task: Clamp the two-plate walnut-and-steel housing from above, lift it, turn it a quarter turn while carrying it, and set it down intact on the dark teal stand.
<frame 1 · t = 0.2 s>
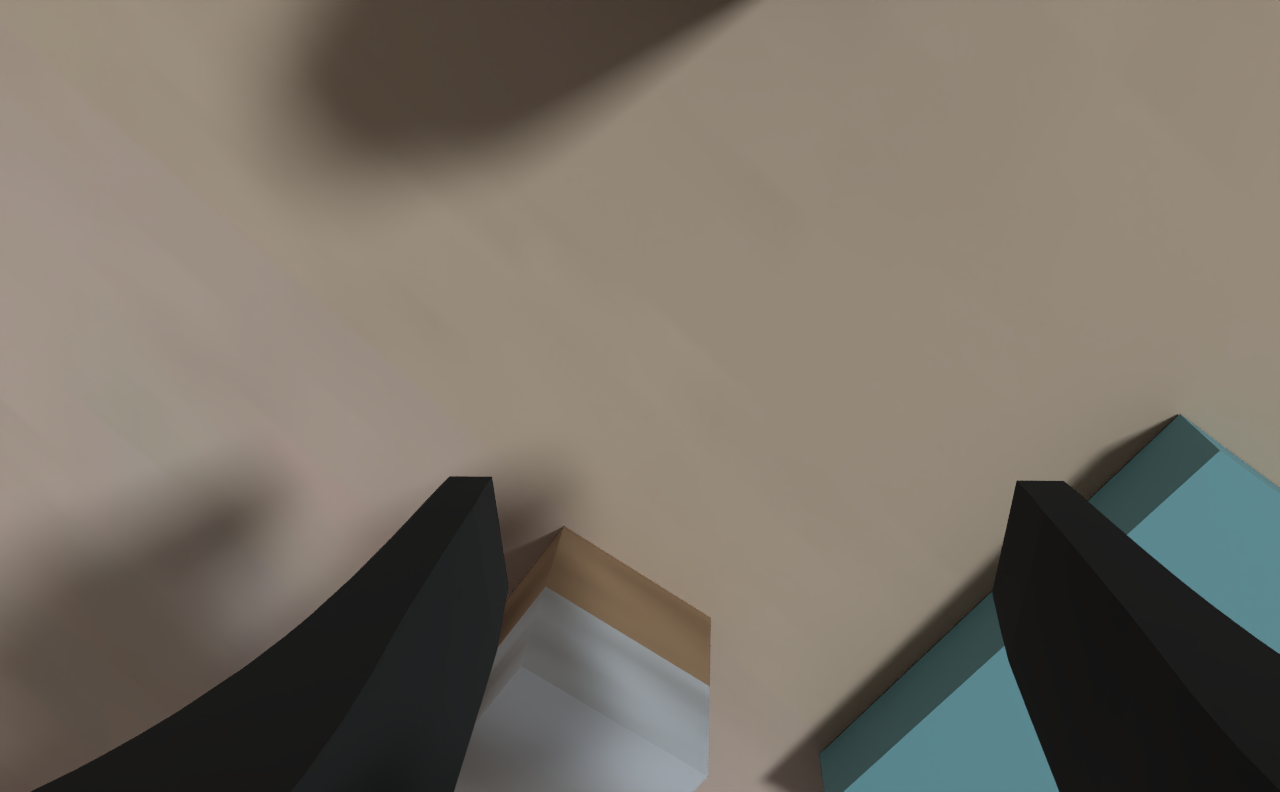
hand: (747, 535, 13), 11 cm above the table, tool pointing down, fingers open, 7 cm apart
teal stand: (1168, 726, 26), on the table
housing: (563, 660, 27), on the table
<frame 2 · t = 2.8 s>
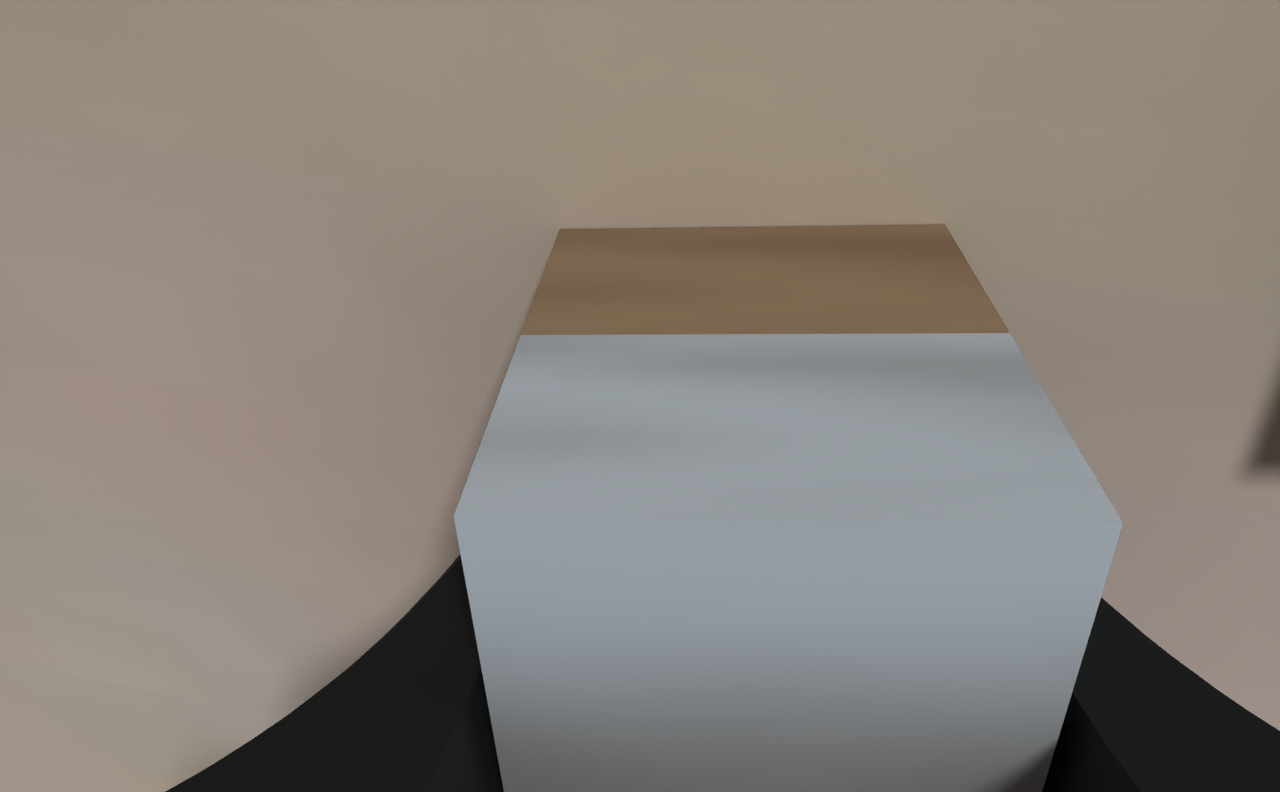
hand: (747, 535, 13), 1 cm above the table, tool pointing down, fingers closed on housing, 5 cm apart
housing: (743, 474, 14), on the table, touching gripper
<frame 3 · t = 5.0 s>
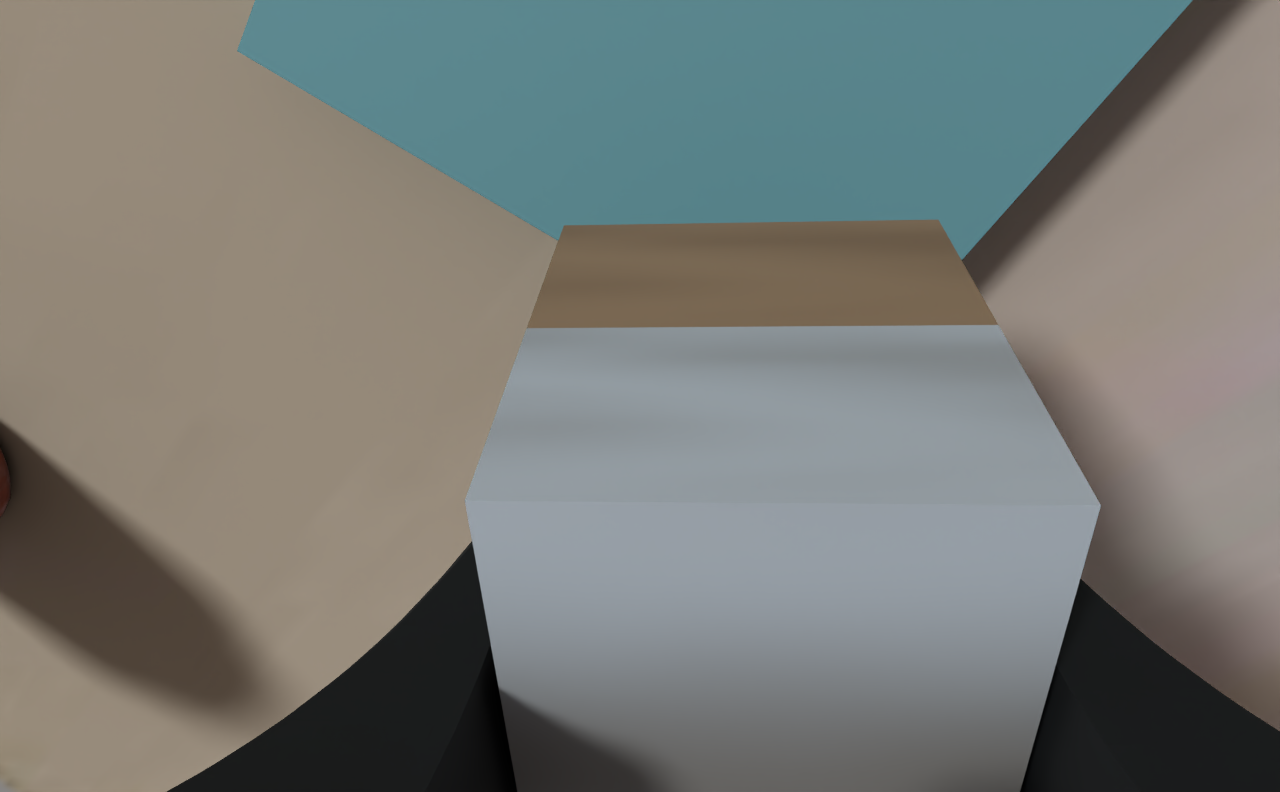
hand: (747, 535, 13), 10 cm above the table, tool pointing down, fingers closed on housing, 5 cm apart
housing: (743, 463, 14), point 8 cm above the table, touching gripper
when the fingers open (5 cm above the table, at t = 7.6 s): housing stays where it is, resting on teal stand.
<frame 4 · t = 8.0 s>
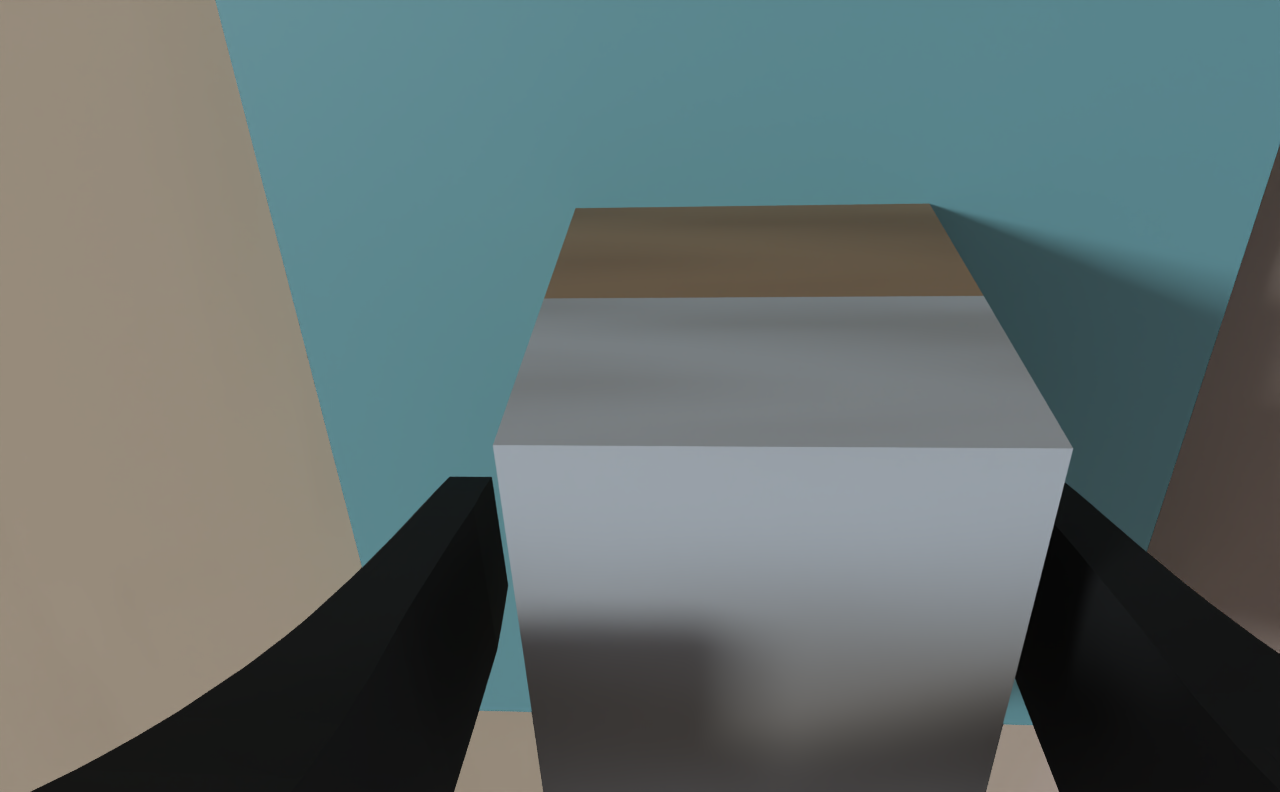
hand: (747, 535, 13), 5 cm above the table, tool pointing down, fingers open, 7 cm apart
teal stand: (738, 370, 17), on the table
housing: (743, 438, 15), point 2 cm above the table, touching teal stand
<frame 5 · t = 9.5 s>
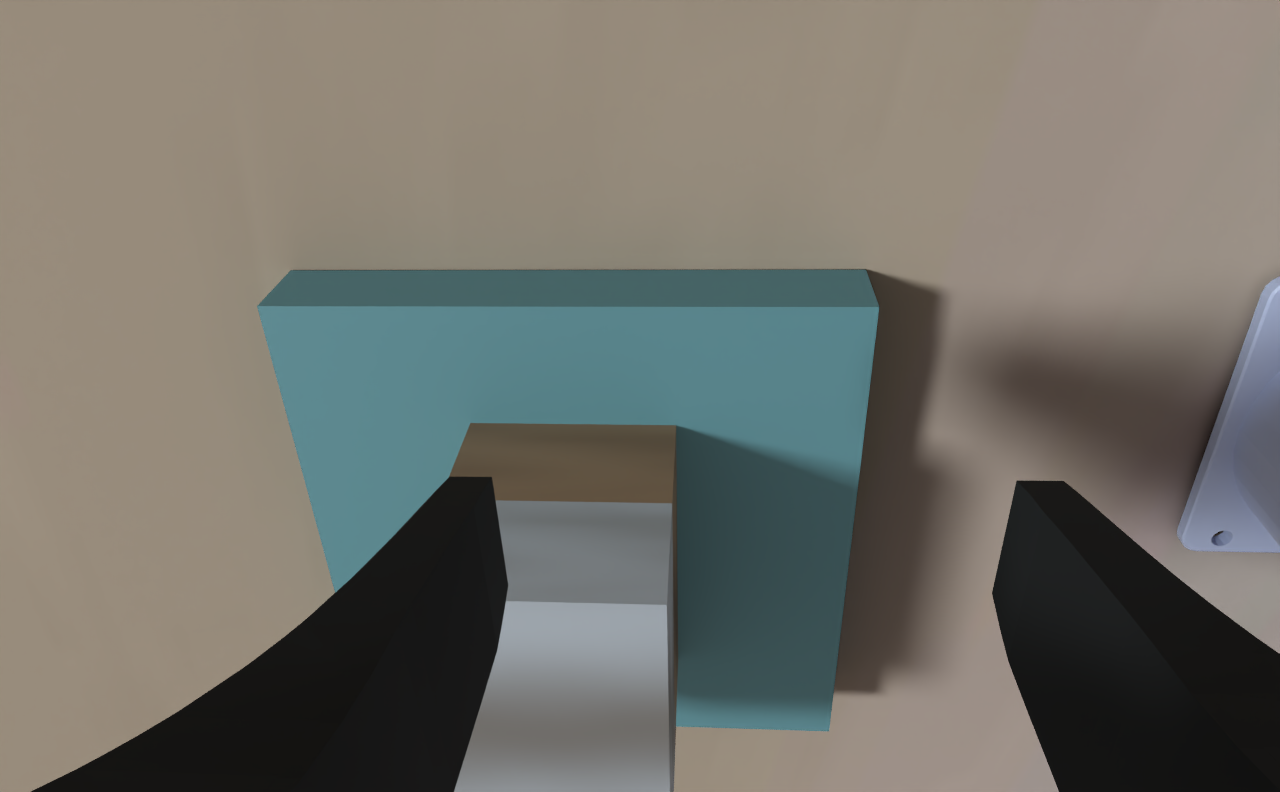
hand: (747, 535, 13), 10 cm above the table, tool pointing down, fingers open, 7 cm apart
teal stand: (588, 499, 26), on the table
housing: (582, 550, 24), point 2 cm above the table, touching teal stand
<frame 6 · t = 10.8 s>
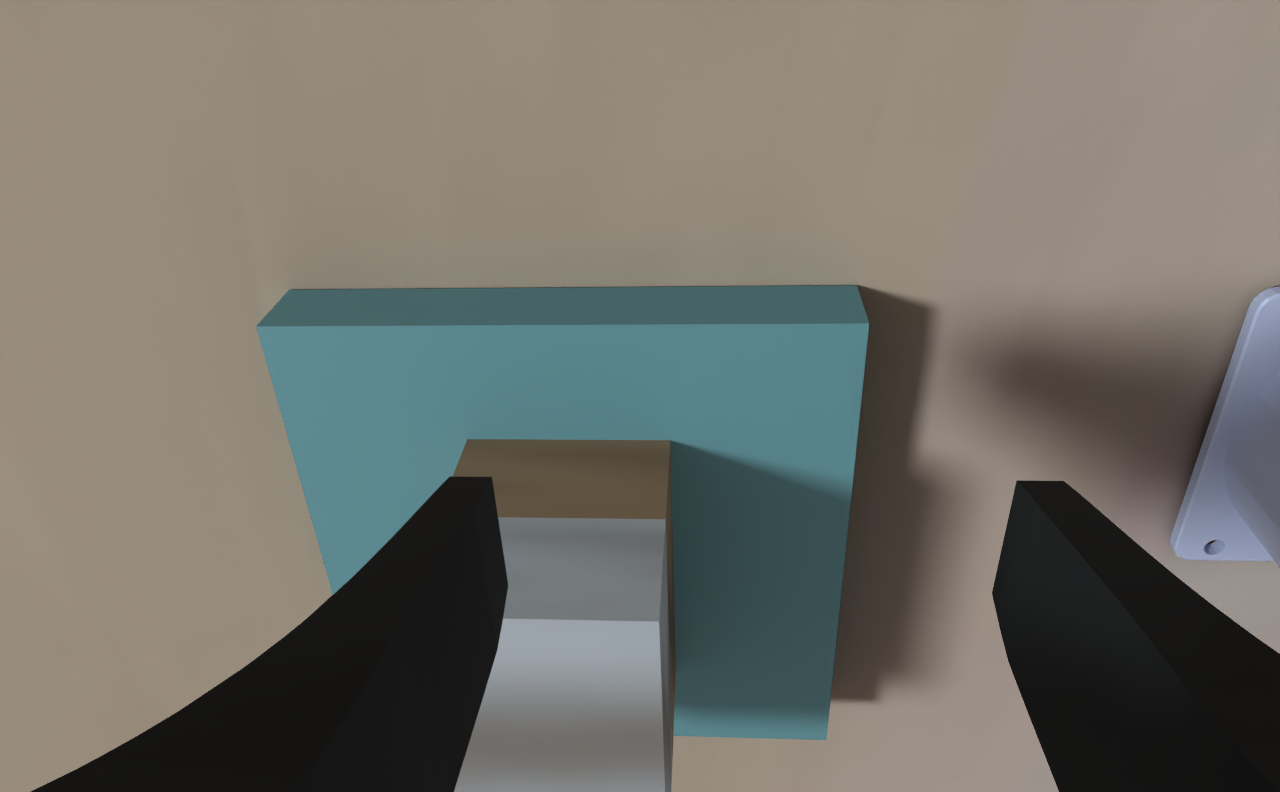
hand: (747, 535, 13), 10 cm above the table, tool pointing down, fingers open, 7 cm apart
teal stand: (586, 512, 26), on the table
housing: (579, 563, 25), point 2 cm above the table, touching teal stand
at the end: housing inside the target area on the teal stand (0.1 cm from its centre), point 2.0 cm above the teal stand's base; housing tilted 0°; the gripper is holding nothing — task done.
